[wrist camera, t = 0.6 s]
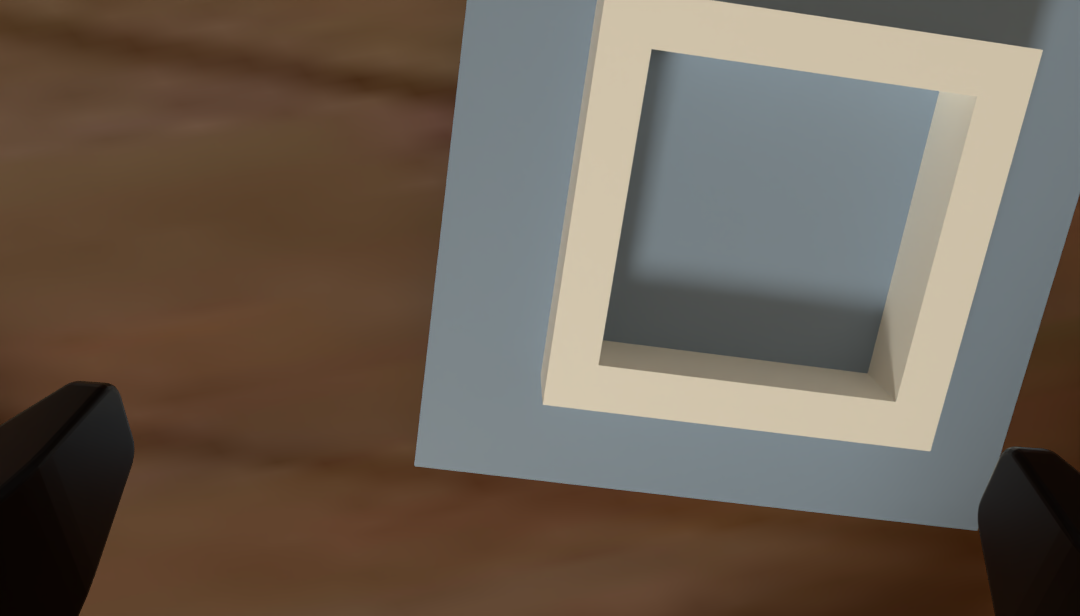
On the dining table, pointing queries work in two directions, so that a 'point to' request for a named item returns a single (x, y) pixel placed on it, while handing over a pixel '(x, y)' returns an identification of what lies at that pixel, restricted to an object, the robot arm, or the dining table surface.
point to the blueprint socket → (751, 246)
